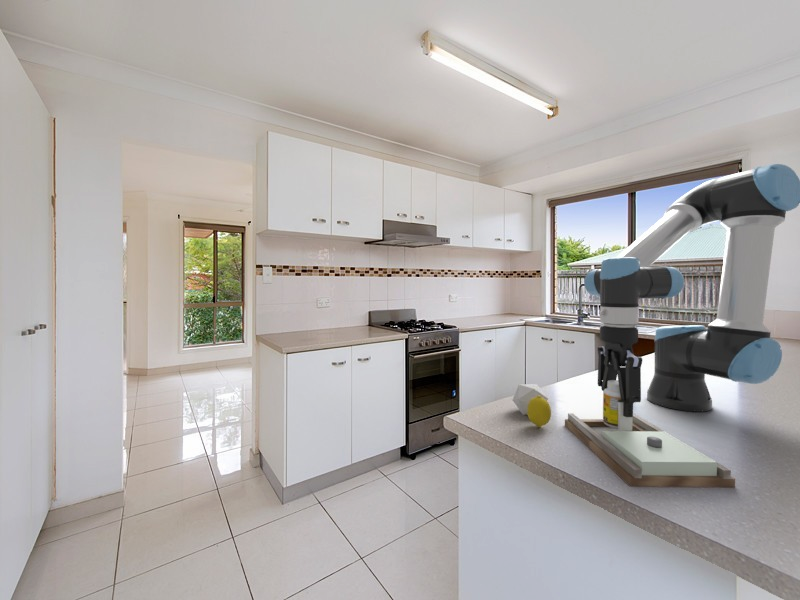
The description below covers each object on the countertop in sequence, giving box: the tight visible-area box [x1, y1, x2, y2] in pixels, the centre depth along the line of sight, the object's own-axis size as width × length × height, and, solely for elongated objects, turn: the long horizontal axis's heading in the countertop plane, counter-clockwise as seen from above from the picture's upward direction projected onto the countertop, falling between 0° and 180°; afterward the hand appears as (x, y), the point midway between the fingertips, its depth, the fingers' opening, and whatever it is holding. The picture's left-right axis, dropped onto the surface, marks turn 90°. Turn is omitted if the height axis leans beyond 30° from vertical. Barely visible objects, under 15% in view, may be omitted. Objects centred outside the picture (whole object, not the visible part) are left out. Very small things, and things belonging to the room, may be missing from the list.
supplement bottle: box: [602, 379, 621, 429], centre depth 82 cm, size 6×6×10 cm
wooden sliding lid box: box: [564, 412, 736, 488], centre depth 75 cm, size 18×27×3 cm, turn 178°
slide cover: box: [603, 430, 718, 476], centre depth 69 cm, size 13×13×4 cm
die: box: [512, 383, 549, 416], centre depth 98 cm, size 8×9×10 cm
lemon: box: [527, 396, 552, 428], centre depth 88 cm, size 6×6×8 cm
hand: (616, 423), depth 82 cm, fingers closed on supplement bottle, 6 cm apart
